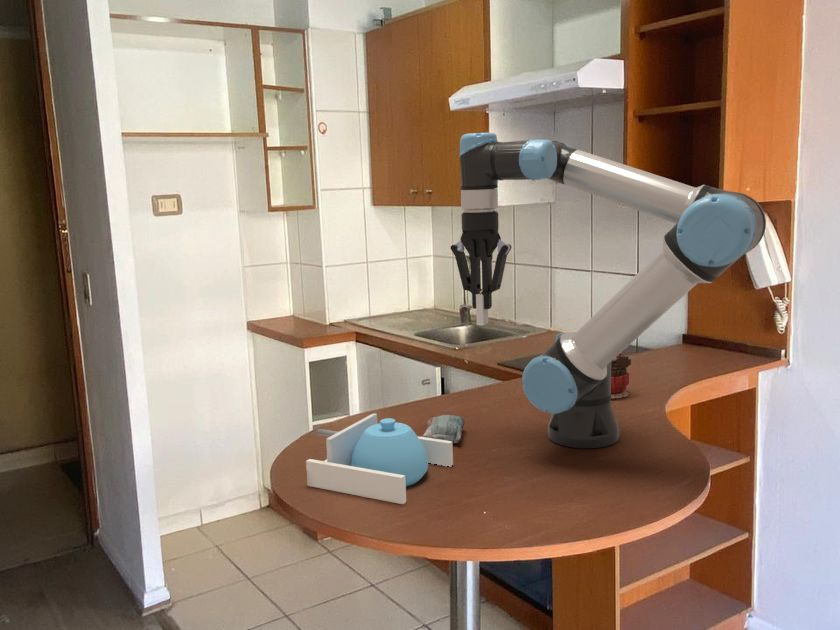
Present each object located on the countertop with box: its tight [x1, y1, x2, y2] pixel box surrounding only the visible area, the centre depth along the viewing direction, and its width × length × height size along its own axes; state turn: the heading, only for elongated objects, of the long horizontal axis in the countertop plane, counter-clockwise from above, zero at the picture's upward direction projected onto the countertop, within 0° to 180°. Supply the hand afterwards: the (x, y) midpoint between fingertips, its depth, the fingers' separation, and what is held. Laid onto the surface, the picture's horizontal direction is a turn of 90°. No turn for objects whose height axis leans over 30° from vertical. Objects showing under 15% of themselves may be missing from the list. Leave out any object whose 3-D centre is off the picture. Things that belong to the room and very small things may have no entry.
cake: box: [611, 352, 632, 400], centre depth 197 cm, size 11×9×18 cm
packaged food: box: [420, 414, 466, 444], centre depth 171 cm, size 9×12×5 cm
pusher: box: [316, 413, 379, 466], centre depth 155 cm, size 9×17×9 cm, turn 152°
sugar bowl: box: [351, 417, 429, 487], centre depth 150 cm, size 15×15×12 cm
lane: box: [305, 435, 454, 505], centre depth 151 cm, size 21×20×5 cm
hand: (482, 324), depth 162 cm, fingers closed
